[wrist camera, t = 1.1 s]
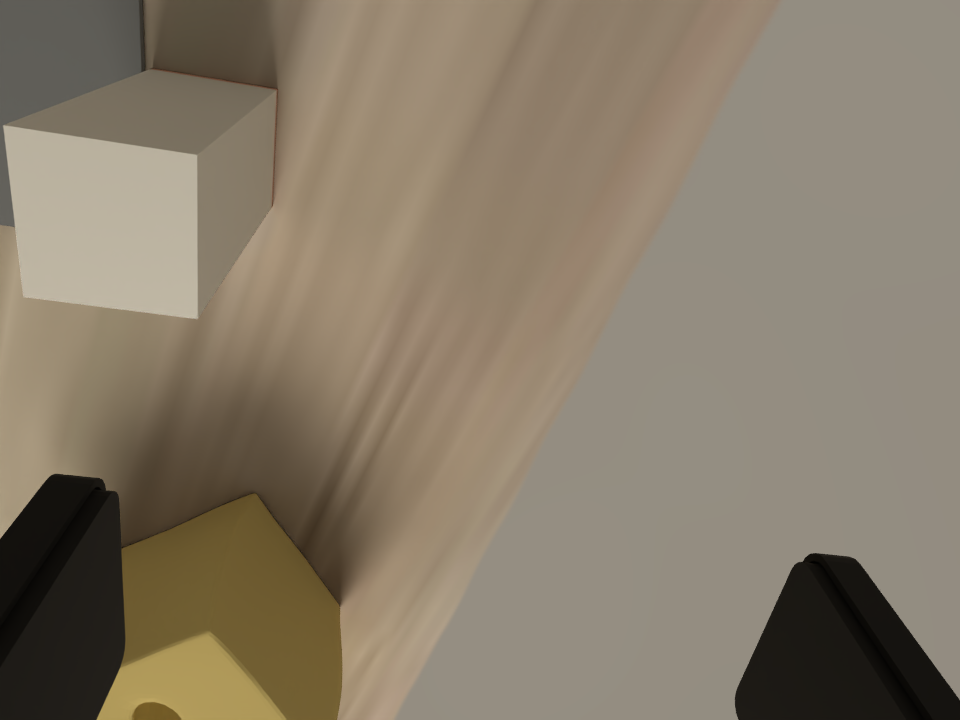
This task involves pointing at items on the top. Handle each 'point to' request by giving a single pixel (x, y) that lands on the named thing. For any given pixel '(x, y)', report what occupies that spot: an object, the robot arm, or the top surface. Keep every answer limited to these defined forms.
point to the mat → (61, 59)
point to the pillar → (141, 190)
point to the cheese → (226, 625)
